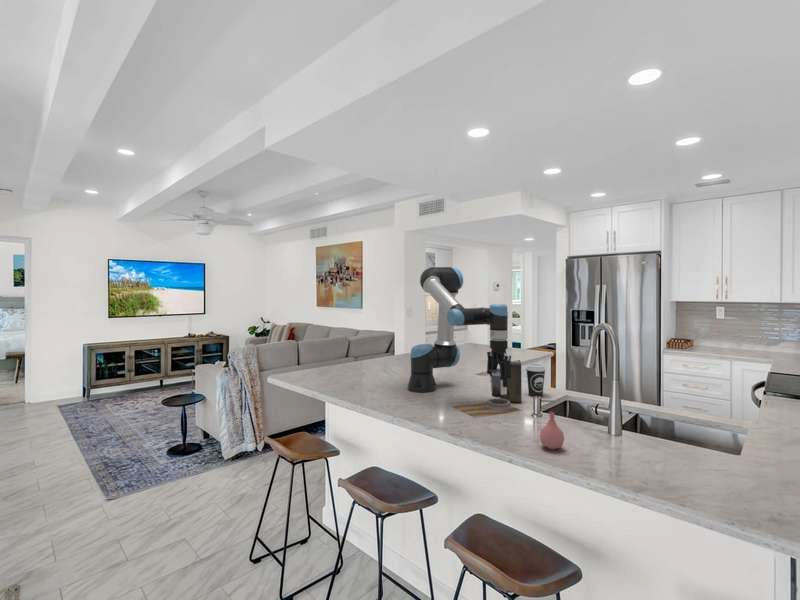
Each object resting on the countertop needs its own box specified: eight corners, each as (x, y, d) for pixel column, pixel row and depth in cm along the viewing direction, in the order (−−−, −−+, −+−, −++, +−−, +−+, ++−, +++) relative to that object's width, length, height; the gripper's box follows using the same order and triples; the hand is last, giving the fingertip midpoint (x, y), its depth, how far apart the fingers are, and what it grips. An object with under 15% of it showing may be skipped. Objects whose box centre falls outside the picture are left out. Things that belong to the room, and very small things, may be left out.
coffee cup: (547, 394, 208) (548, 364, 208) (543, 399, 200) (543, 368, 200) (528, 392, 213) (528, 363, 213) (523, 396, 205) (523, 366, 205)
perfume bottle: (541, 442, 145) (541, 408, 144) (565, 446, 142) (565, 410, 141) (538, 450, 138) (538, 414, 137) (563, 454, 135) (563, 417, 134)
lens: (488, 394, 184) (488, 369, 183) (499, 393, 186) (499, 368, 186) (497, 398, 178) (497, 371, 178) (508, 396, 181) (508, 370, 180)
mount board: (451, 409, 184) (451, 400, 184) (495, 403, 194) (495, 393, 194) (475, 421, 168) (475, 411, 167) (522, 413, 178) (522, 403, 178)
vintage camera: (516, 396, 208) (515, 356, 208) (522, 403, 193) (521, 360, 193) (496, 396, 209) (495, 356, 209) (501, 403, 194) (500, 360, 194)
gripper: (478, 337, 188) (478, 388, 189) (506, 342, 171) (506, 398, 172) (492, 336, 192) (492, 387, 192) (520, 341, 174) (520, 396, 175)
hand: (498, 392), depth 182 cm, fingers closed on lens, 6 cm apart
